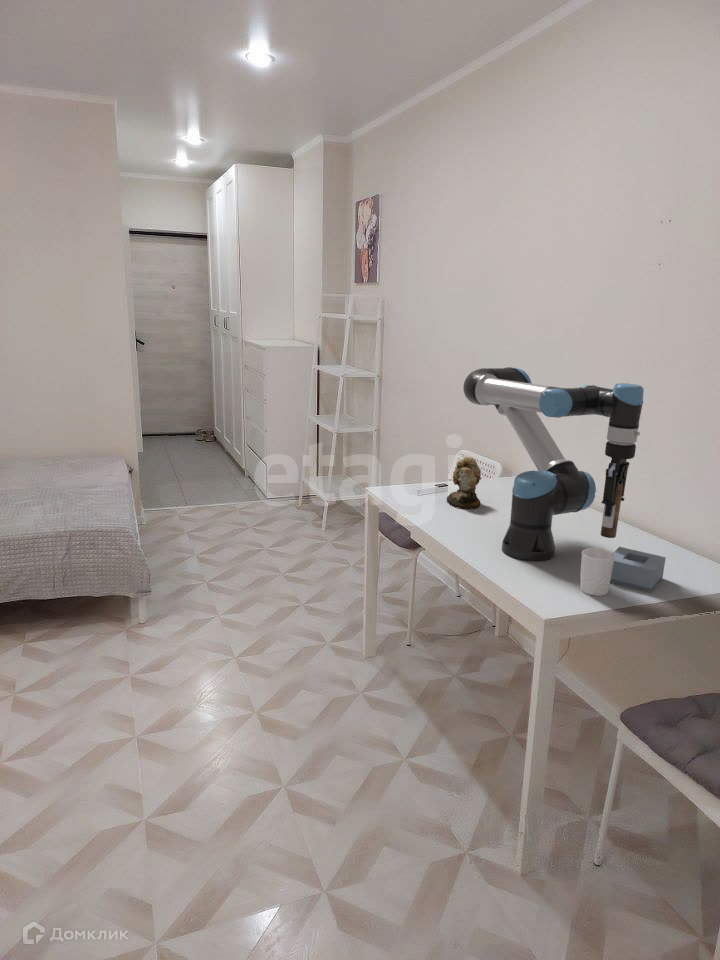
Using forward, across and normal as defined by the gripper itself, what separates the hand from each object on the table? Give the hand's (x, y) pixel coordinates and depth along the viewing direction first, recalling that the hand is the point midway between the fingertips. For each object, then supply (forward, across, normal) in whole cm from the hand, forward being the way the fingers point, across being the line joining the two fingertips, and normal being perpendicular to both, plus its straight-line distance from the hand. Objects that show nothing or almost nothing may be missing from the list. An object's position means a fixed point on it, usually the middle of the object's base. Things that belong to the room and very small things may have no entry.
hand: (609, 524), depth 186 cm
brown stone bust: (+13, +28, +59) cm, 67 cm away
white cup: (+12, -21, -4) cm, 24 cm away
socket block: (+11, -6, -10) cm, 16 cm away
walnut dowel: (+3, 0, 0) cm, 3 cm away
